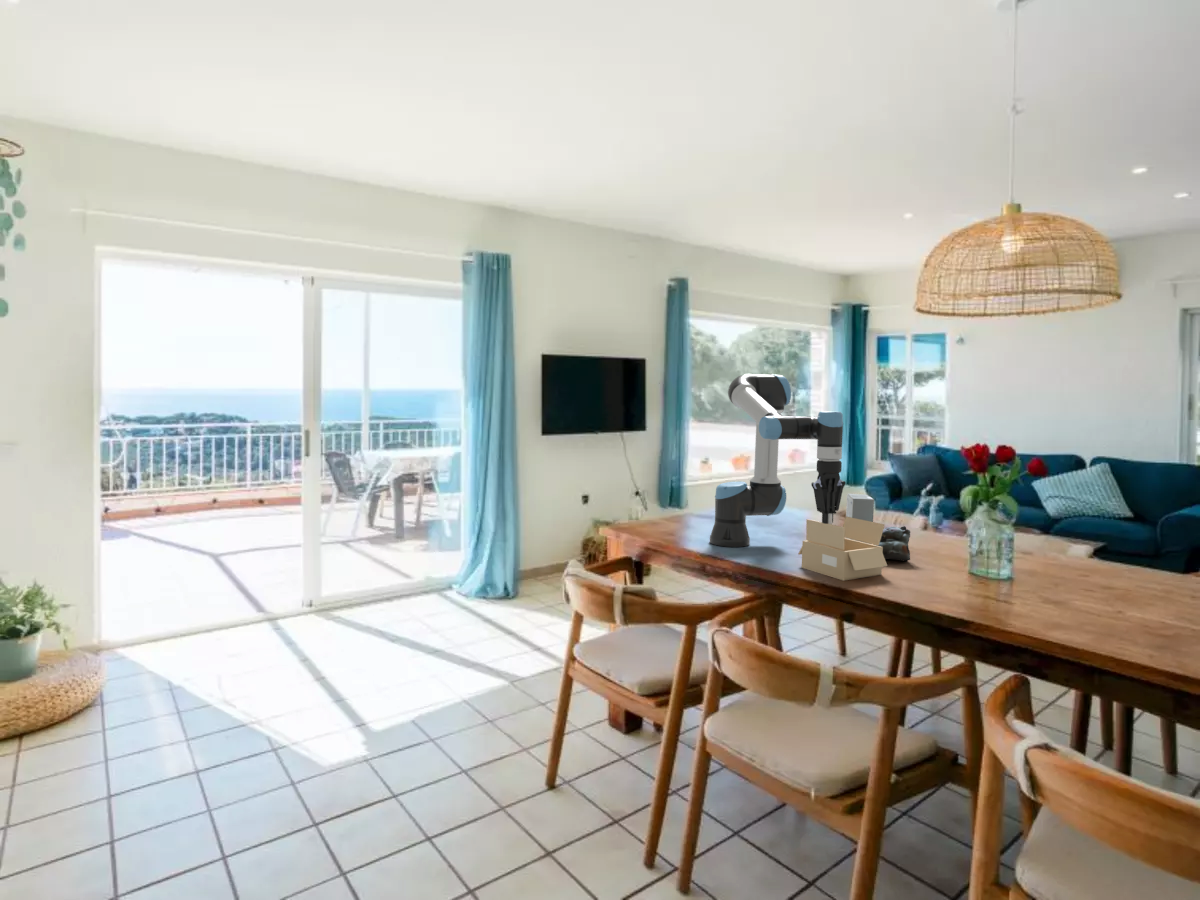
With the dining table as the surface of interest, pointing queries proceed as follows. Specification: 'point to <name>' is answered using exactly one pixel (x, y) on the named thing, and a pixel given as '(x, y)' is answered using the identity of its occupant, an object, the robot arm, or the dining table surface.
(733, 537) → the robot arm
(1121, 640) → the dining table surface
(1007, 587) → the dining table surface
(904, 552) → the dark grey backpack
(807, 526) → the flap
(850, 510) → the hard drive box
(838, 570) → the carton
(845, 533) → the flap
